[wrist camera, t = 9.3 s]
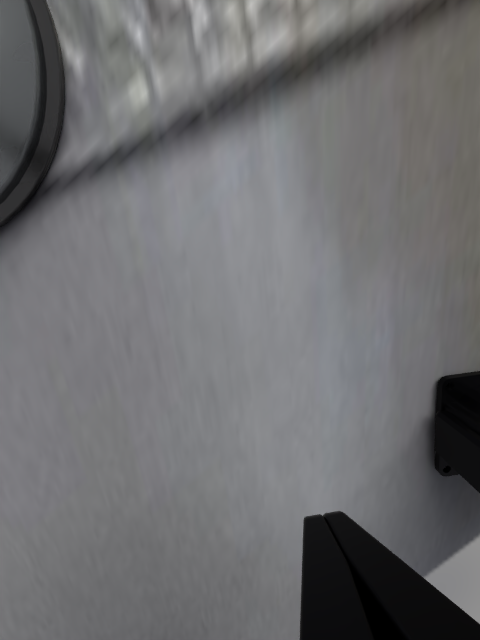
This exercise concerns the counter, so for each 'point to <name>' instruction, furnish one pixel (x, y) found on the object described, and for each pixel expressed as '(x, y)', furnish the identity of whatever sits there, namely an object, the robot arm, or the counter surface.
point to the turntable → (27, 100)
